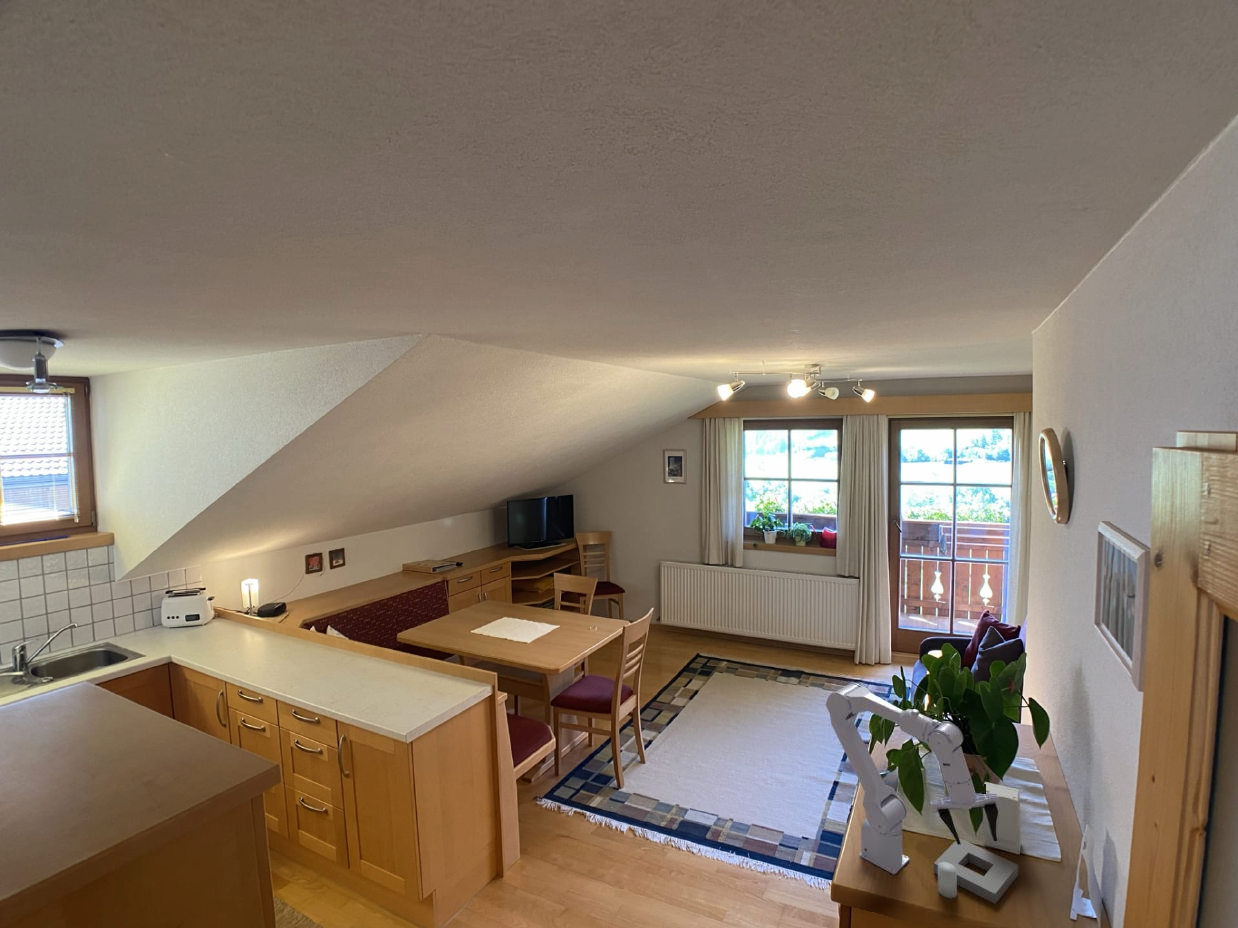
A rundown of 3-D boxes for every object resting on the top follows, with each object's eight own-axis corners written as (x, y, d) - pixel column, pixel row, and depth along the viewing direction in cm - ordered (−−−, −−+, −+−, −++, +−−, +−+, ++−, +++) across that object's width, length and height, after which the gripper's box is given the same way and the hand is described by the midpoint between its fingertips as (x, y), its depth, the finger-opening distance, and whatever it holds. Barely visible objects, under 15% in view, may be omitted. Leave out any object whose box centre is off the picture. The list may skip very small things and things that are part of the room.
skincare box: (1021, 843, 170) (1021, 788, 169) (1019, 856, 165) (1019, 800, 164) (984, 832, 175) (984, 779, 174) (981, 844, 170) (981, 790, 169)
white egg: (935, 891, 155) (934, 867, 154) (942, 882, 157) (942, 859, 157) (952, 900, 152) (952, 876, 151) (959, 891, 154) (959, 867, 154)
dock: (933, 872, 161) (933, 862, 161) (958, 846, 170) (958, 837, 169) (995, 903, 150) (995, 893, 150) (1018, 874, 159) (1018, 864, 159)
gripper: (926, 789, 149) (945, 852, 146) (995, 781, 144) (1015, 845, 142) (923, 778, 155) (941, 837, 153) (988, 769, 151) (1008, 831, 149)
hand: (976, 840), depth 148 cm, fingers open, 7 cm apart
